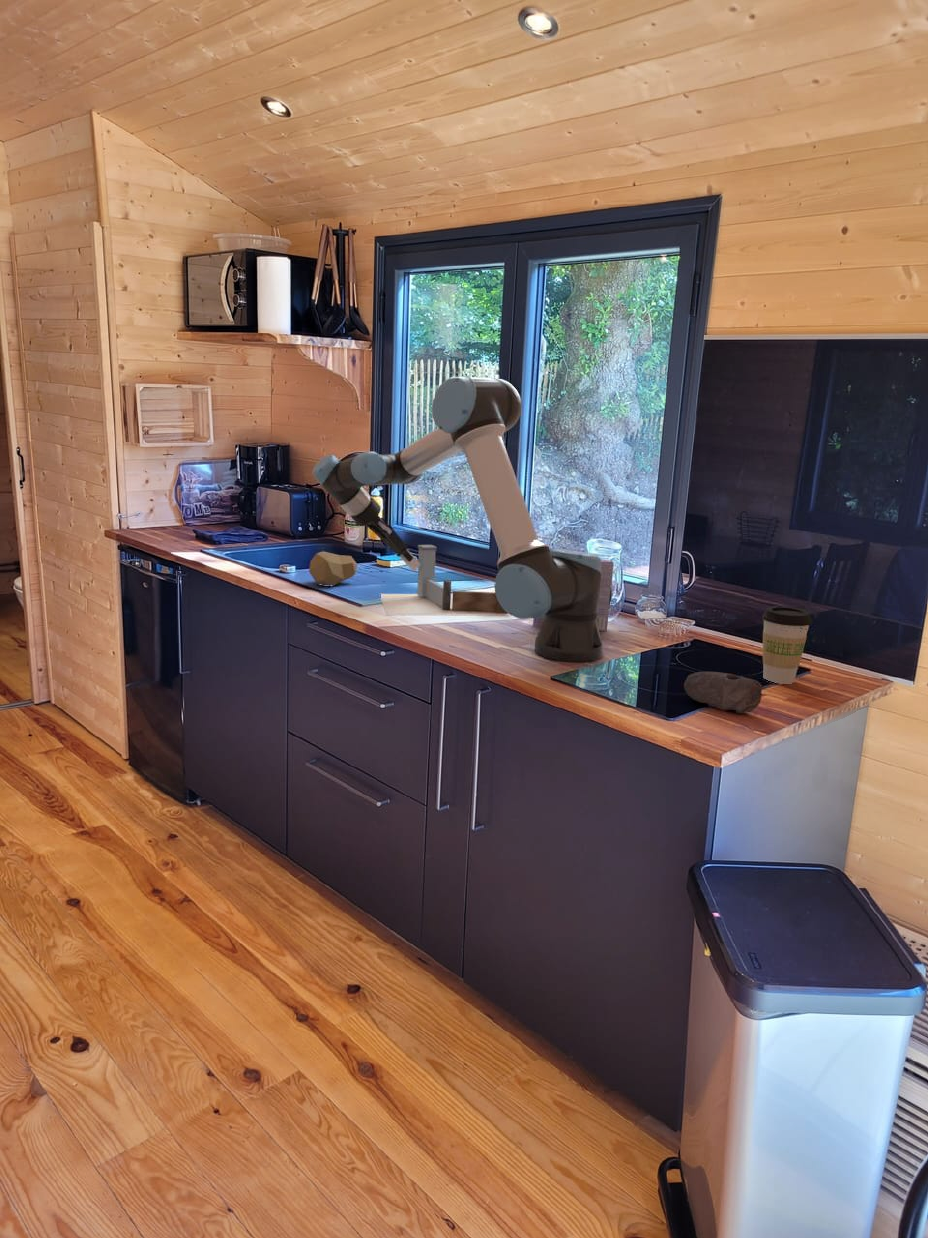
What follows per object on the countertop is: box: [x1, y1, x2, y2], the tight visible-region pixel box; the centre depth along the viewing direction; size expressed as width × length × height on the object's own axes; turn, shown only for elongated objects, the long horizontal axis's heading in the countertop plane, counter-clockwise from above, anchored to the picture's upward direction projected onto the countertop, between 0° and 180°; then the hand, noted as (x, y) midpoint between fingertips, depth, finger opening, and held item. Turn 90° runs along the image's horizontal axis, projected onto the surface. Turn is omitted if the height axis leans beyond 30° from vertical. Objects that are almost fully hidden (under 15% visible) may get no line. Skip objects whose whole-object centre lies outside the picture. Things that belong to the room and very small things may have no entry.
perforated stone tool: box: [683, 671, 763, 714], centre depth 175 cm, size 15×5×7 cm, turn 47°
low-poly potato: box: [308, 551, 358, 586], centre depth 264 cm, size 15×11×12 cm
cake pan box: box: [532, 559, 615, 632], centre depth 227 cm, size 19×5×18 cm, turn 99°
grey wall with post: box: [416, 544, 443, 607], centre depth 246 cm, size 16×4×14 cm, turn 23°
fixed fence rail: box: [442, 580, 508, 614], centre depth 239 cm, size 17×3×8 cm, turn 90°
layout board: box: [380, 593, 513, 617], centre depth 246 cm, size 24×34×1 cm
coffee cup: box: [761, 605, 813, 685], centre depth 193 cm, size 10×10×15 cm
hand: (416, 567), depth 250 cm, fingers closed
